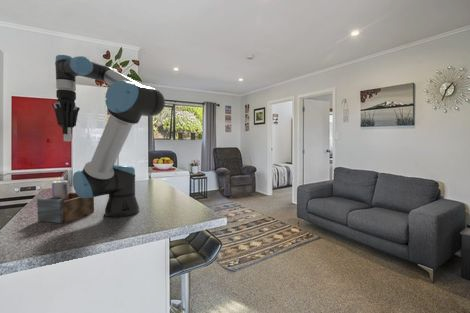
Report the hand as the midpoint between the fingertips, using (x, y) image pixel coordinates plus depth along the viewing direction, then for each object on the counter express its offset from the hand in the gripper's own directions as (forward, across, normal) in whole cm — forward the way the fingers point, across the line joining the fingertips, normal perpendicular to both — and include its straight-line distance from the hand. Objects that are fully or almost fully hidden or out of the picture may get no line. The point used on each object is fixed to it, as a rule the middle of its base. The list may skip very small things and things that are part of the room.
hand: (67, 141), depth 114 cm
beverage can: (+33, +8, +4) cm, 34 cm away
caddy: (+34, +4, +4) cm, 35 cm away
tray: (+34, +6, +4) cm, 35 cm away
